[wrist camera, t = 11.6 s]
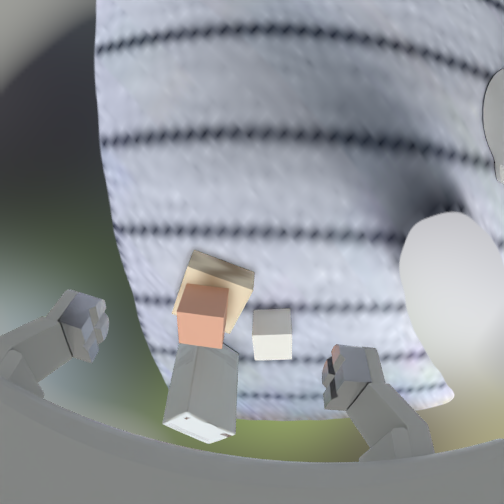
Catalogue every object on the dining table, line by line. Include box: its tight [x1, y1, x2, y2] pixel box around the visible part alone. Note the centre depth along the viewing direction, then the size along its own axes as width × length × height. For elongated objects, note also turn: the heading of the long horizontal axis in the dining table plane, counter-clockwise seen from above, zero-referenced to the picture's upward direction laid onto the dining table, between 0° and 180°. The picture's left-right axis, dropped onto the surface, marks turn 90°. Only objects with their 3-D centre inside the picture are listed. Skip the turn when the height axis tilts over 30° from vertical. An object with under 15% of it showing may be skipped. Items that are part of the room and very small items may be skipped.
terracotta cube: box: [177, 283, 229, 349], centre depth 35 cm, size 5×5×5 cm
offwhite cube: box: [252, 308, 292, 360], centre depth 41 cm, size 5×5×5 cm
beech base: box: [172, 250, 254, 334], centre depth 39 cm, size 8×8×4 cm
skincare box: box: [163, 343, 239, 444], centre depth 40 cm, size 8×6×15 cm
